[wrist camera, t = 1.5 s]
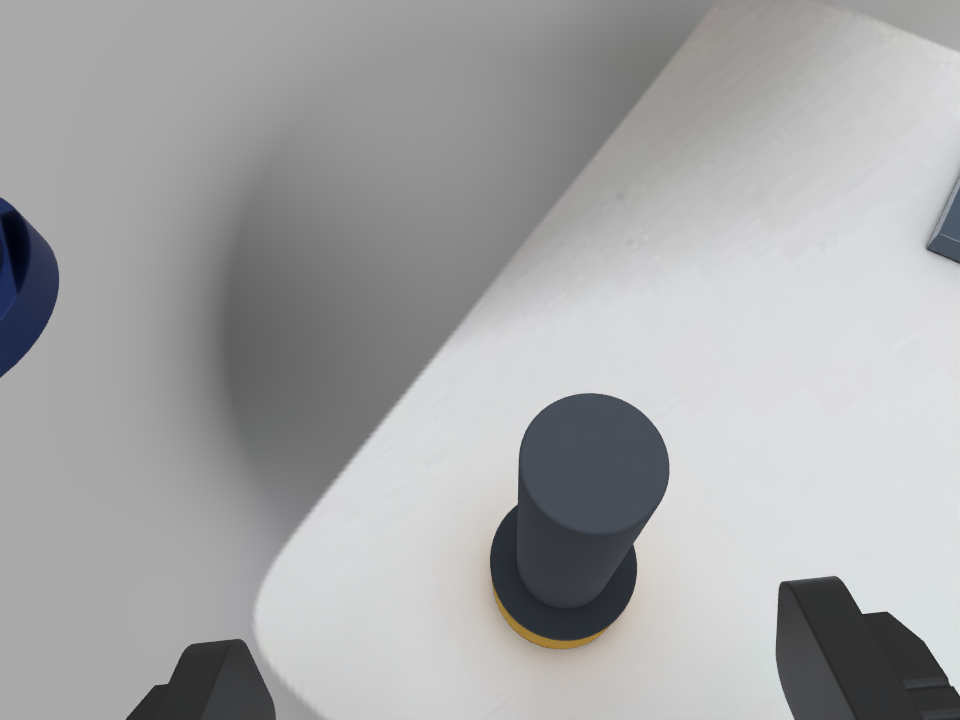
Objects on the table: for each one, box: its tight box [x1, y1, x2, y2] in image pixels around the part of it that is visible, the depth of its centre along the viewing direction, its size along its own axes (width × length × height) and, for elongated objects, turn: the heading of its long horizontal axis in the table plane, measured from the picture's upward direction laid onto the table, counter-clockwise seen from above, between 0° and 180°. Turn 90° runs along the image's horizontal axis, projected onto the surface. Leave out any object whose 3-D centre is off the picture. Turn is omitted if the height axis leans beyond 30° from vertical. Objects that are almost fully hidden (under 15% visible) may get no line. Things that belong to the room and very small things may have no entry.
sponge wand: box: [490, 393, 669, 649], centre depth 18 cm, size 4×4×12 cm
